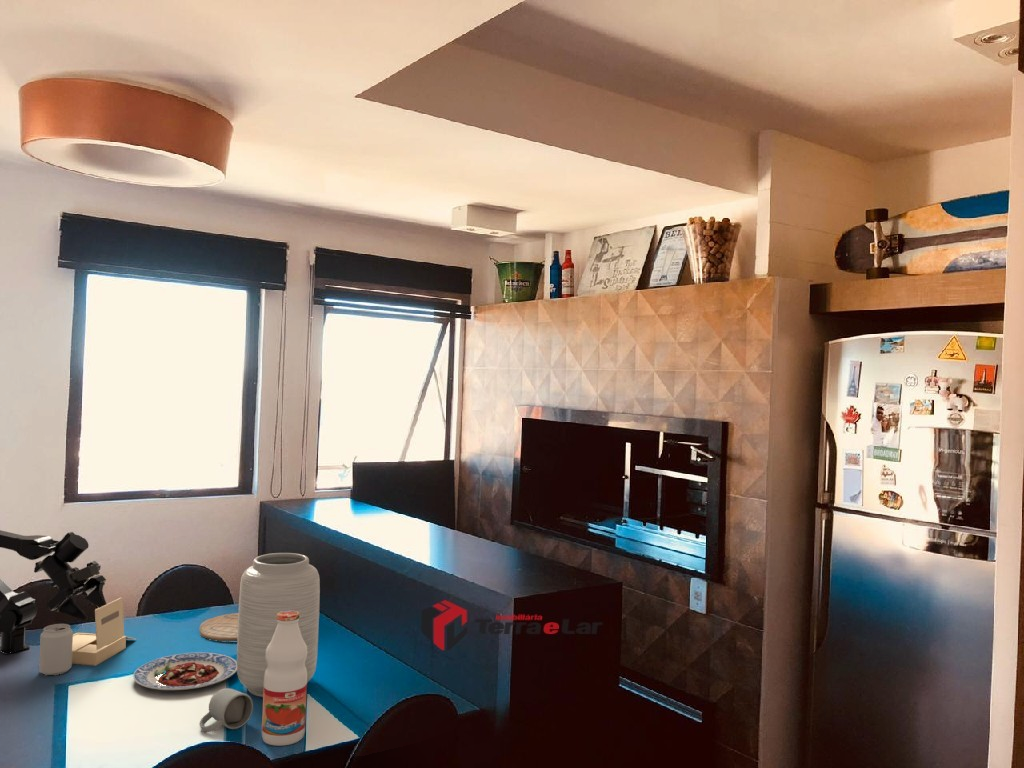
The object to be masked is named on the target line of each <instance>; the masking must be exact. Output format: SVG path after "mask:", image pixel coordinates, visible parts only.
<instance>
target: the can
mask: <svg viewBox="0 0 1024 768" xmlns="http://www.w3.org/2000/svg"><path fill="white" fill-rule="evenodd" d="M42 630H43V631H42V632H41V633H40V637H39V639H40V640H39V662H38V663H39V665H38V671H39V673H41V674H42V673H43V674H45V675H44V676H47V675H54V676H59V674H60V675H62V674H65V673H67V672H68V671H69V670H70V669H71V668H72V667H73V666H72V665H73V664H72V643H73V634H74V631H73V629H72V628H71V625H70V624H67V623H53V624H50V625H47V626H45V627H43V629H42ZM43 674H42V675H43Z"/></svg>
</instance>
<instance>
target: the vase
mask: <svg viewBox="0 0 1024 768" xmlns="http://www.w3.org/2000/svg"><path fill="white" fill-rule="evenodd" d="M320 583H321V581H320V574H319V571H318V569H317V568H316V567H315V566H314V565H312V564H310V558H309V557H308V556H307V555H304V554H302V553H301V554H300V553H293V552H275V553H267V554H262V555H259V556H256V557H255V558H254V559H253V561H252V565H251V566H249V567H248V568H246V569H245V570H244V571H243V573H242V575H241V577H240V584H239V585H240V586H239V597H238V598H239V599H238V612H237V613H238V638H237V642H236V643H237V644H236V662H237V671H236V673H237V678H238V680H239V682H240V684H241V685H243V686H244V687H245V688H246V689H247V690H248V692H249V693H250V694H252V695H254V696H256V697H261V698H263V686H264V675H265V671H266V669H267V662H266V657H265V654H266V649H267V646H268V645H269V643H270V642H271V640H272V637H273V635H274V632H275V630H276V627H277V625H278V622H277V614H278V613H279V612H281V611H287V610H292V611H297V612H299V621H298V626H299V629H300V632H301V635H302V638H303V640H304V642H305V643H306V645H307V658H306V661H305V667H306V670H307V683H308V682H309V681H310V680H311V679H312V678H313V676H314V674H315V672H316V669H317V661H318V650H319V649H318V648H319V646H318V645H319V644H318V643H319V624H320V623H319V622H320V620H319V619H320V599H321V598H320V596H321V595H320V594H321V587H320Z"/></svg>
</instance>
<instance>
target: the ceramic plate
mask: <svg viewBox="0 0 1024 768" xmlns="http://www.w3.org/2000/svg"><path fill="white" fill-rule="evenodd" d="M164 671H166V673H165V674H163V673H164ZM158 672H159V673H158ZM235 673H237V660H236V659H234V658H232V657H231V656H228V655H225V654H220V653H214V652H185V653H177V654H172V655H166V656H162V657H158V658H155V659H153V660H151V661H148V662H146V663H144V664H142V665H141V666H139V667H138V668H137V669H136V670H135V671H134V672H133V675H132V678H133V681H134V682H136V684H138V685H140V686H142V687H144V688H147V689H148V688H149V689H152V690H159V691H182V690H183V691H184V690H185V691H186V690H193V689H200V688H204V687H208V686H209V687H210V686H212V685H215V684H218V683H221V682H223V681H225V680H227V679H228V678H230V677H232V676H233V675H234V674H235ZM160 674H163V675H162V676H161V677H160V678H159V680H157V679H156V678H155V677H156V676H157V677H158V675H160ZM156 681H158V682H159V683H161V684H163V685H166V686H162V685H161V686H160V684H159V683H156ZM158 684H159V685H158Z"/></svg>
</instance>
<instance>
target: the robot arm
mask: <svg viewBox="0 0 1024 768" xmlns="http://www.w3.org/2000/svg"><path fill="white" fill-rule="evenodd" d="M0 548H1V549H6V550H9V551H14V552H15V553H17V555H19V557H22V558H25V559H27V560H29V561H34V560H35V561H36V560H39V559H41V558H43V559H42V560H40V561H36V562H35V564H34V569H33V570H34V571H33V573H40V572H42V571H43V572H44V574H46V575H47V577H48V578H49V579H50V581H52V582H51V584H50V586H51V587H52V588H54V587H57V589H59V590H58V591H56V592H55V593H54V594H53V595H52V596H51V597H50V598H49V599H48V600H47V601H46V607H47V608H48V609H49V611H50V612H52V611H55V612H57V613H58V612H59V613H63V614H66V615H69V616H71V617H74V618H77V619H80V620H81V621H87V620H88V616H87V614H86V612H85V611H84V610H83V608H82V607H81V606H80V604H79V602H78V599H77V598H78V596H79V595H80V594H82V596H84V597H85V599H86V600H87V601H89V602H90V603H92V604H93V605H94V606H96V607H98V608H100V607H102V606H104V605H106V604H107V602H106V598H105V596H104V592H103V590H104V586H105V584H106V581H107V579H106V578H105V577H104V575H102V574H100V570H101V567H102V566H101V565H100V564H99V563H98V562H97V561H96V560H93V561H90V562H88V563H86V566H85V567H83V568H81V569H79V567H77V566H76V567H72V566H71V565H70V564H69V563H73V562H75V561H76V560H77V559H78V558H79V557H80V556H81V555H82V554H83V553H85V551H86V550H87V549H88V548H89V542H88V540H87V539H86V538H85V537H83V536H81V535H79V534H77V533H74V532H73V531H70V532H67V533H66V534H65V535H64V536H63V538H62V539H61V540H56V539H53V537H51V536H49V535H42V534H41V535H40V534H39V535H38V534H37V535H23V534H18V533H13V532H9V531H4V530H0ZM52 553H53V554H52ZM44 557H45V558H44ZM37 613H38V605H37V603H36V599H35V598H33V597H31V596H30V594H29V593H28V592H27V591H22V592H19V593H17V592H15V591H13V589H11V588H10V587H9V586H8V585H7V584H6V583H5V582H4V581H3V580H2V579H1V578H0V633H1V636H0V651H2V652H4V653H9V654H11V653H10V652H13V653H16V652H15V651H17V652H20V651H19V650H22V651H25V650H24V649H26V650H30V647H31V646H29V645H27V644H26V643H25V642H26V626H28V625H31V624H32V622H33V620H34V618H35V617H36V615H37Z"/></svg>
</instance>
